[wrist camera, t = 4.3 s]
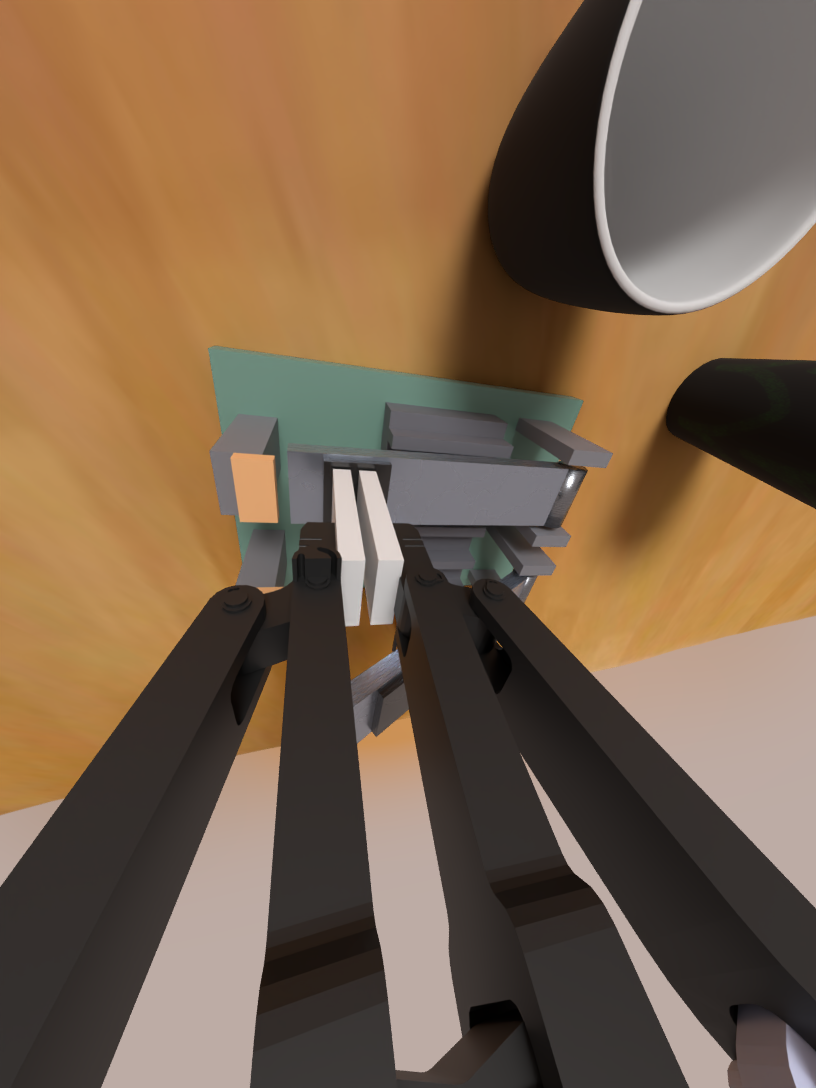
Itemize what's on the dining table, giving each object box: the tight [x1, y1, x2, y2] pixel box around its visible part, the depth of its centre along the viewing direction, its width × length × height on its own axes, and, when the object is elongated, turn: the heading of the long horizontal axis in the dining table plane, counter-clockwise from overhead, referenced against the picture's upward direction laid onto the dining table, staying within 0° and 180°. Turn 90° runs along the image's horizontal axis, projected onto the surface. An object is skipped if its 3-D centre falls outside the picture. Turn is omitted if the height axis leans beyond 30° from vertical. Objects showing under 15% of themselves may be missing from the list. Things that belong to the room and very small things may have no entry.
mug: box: [488, 0, 816, 315], centre depth 12 cm, size 12×9×10 cm
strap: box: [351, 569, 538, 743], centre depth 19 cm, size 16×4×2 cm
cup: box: [666, 358, 816, 509], centre depth 20 cm, size 8×8×12 cm
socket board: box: [208, 346, 613, 594], centre depth 21 cm, size 22×16×8 cm
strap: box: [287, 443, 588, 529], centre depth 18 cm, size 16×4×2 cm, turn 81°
